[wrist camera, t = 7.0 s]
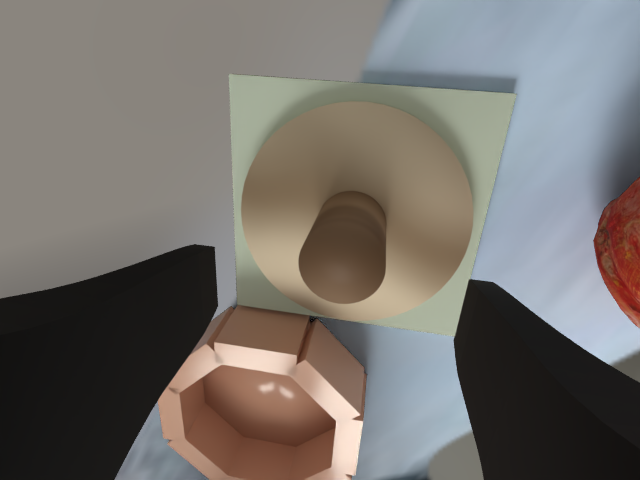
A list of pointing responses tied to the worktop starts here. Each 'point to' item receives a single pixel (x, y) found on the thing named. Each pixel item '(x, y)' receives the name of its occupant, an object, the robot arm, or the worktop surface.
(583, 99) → the worktop surface
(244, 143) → the mat
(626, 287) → the pomegranate
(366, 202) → the lid
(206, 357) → the dish
